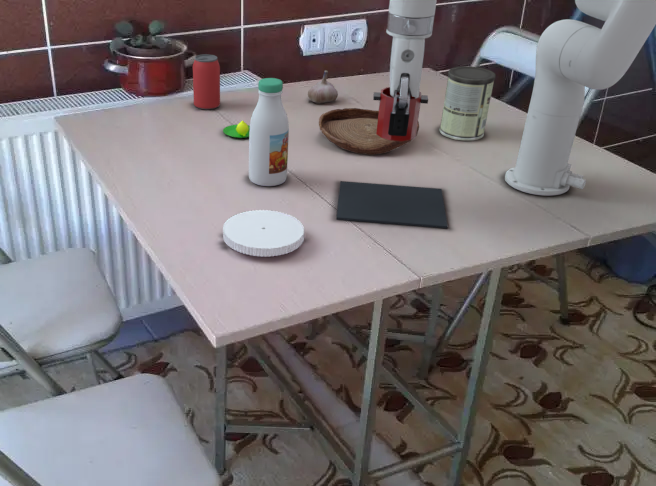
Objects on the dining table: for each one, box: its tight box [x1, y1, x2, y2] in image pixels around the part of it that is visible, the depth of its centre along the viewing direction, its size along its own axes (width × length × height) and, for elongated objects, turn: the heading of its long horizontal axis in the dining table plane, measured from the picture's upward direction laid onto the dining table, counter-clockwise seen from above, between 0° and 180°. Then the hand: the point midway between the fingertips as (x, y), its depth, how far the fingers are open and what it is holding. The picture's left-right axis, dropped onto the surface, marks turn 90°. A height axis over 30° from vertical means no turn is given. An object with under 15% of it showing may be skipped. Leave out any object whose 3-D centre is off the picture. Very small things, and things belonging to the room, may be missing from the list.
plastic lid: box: [222, 209, 305, 258], centre depth 129 cm, size 14×14×2 cm
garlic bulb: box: [307, 69, 339, 104], centre depth 189 cm, size 8×7×8 cm
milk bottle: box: [248, 77, 290, 187], centre depth 145 cm, size 8×8×20 cm
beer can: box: [192, 53, 221, 111], centre depth 183 cm, size 7×7×12 cm
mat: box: [336, 180, 448, 229], centre depth 142 cm, size 20×16×1 cm
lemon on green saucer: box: [222, 120, 250, 139], centre depth 171 cm, size 8×8×3 cm
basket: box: [318, 107, 420, 156], centre depth 169 cm, size 22×20×5 cm
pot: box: [372, 86, 429, 141], centre depth 132 cm, size 9×7×8 cm
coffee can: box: [438, 65, 497, 142], centre depth 171 cm, size 10×10×14 cm
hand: (396, 126), depth 134 cm, fingers closed on pot, 7 cm apart
